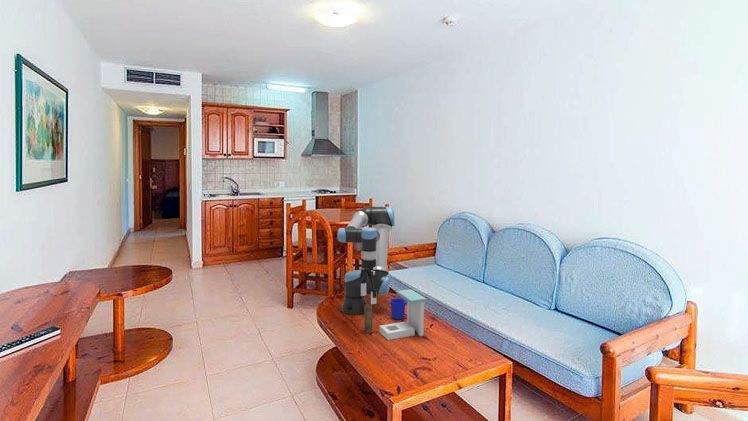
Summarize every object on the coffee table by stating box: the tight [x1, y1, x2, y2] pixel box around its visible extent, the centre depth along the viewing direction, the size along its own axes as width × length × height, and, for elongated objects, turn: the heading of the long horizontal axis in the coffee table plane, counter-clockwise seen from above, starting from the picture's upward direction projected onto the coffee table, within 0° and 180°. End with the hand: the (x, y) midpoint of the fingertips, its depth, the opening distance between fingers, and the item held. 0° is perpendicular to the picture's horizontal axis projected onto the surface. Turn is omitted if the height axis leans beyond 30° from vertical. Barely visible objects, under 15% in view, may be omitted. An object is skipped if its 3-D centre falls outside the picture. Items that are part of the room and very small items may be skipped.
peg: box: [363, 303, 373, 334], centre depth 205 cm, size 4×4×14 cm
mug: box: [390, 297, 407, 320], centre depth 223 cm, size 8×12×10 cm
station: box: [379, 288, 427, 341], centre depth 203 cm, size 16×20×20 cm
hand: (368, 299), depth 203 cm, fingers open, 13 cm apart
